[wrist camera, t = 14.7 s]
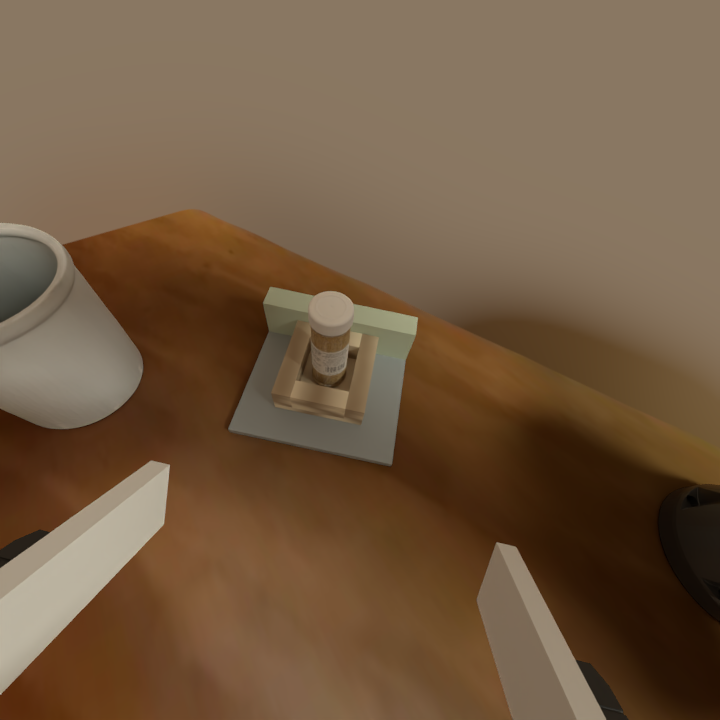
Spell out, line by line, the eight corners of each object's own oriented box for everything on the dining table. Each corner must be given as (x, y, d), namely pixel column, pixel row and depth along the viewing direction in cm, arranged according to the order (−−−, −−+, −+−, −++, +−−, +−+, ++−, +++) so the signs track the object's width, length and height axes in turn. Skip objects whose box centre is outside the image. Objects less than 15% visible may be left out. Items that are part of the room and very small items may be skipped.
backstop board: (406, 346, 50) (417, 317, 44) (390, 466, 40) (402, 449, 34) (276, 319, 50) (270, 286, 44) (229, 432, 40) (214, 409, 34)
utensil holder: (79, 317, 47) (-34, 203, 32) (174, 350, 46) (102, 247, 31) (-16, 408, 39) (-222, 313, 24) (95, 451, 38) (-51, 378, 23)
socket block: (374, 353, 47) (378, 337, 44) (360, 425, 41) (364, 412, 38) (299, 337, 47) (297, 320, 44) (275, 407, 41) (271, 393, 38)
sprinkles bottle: (345, 358, 45) (353, 289, 34) (347, 388, 43) (356, 325, 31) (311, 359, 44) (307, 288, 33) (311, 389, 42) (307, 325, 31)
